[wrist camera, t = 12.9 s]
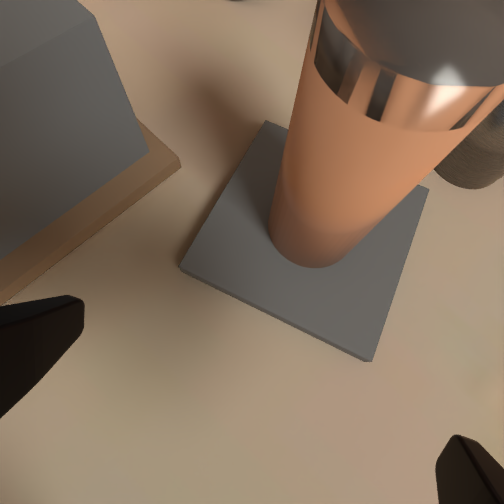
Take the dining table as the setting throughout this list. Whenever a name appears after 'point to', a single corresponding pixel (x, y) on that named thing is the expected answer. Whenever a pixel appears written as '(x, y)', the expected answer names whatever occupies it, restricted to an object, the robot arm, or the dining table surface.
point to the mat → (292, 275)
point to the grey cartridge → (477, 154)
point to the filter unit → (63, 138)
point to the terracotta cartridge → (379, 114)
